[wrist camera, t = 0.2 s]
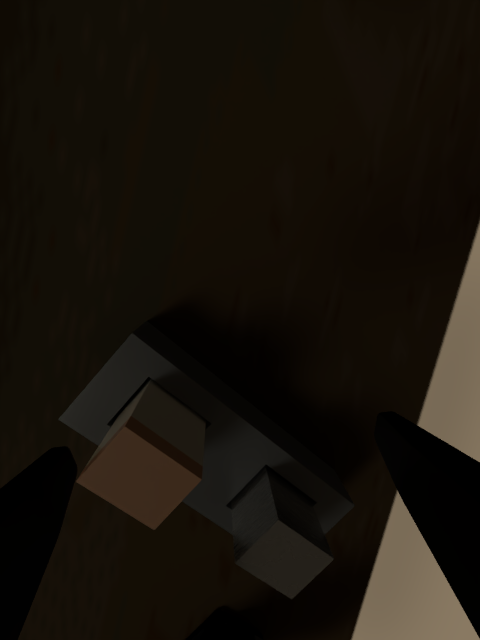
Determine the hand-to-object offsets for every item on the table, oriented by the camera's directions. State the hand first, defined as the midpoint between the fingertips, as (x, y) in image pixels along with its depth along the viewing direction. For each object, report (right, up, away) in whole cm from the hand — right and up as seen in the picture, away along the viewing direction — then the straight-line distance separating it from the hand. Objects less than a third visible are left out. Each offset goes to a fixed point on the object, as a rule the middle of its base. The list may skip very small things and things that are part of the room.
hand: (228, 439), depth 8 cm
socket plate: (-2, -7, +17) cm, 18 cm away
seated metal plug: (+3, -10, +18) cm, 21 cm away
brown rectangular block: (-6, -3, +16) cm, 17 cm away
